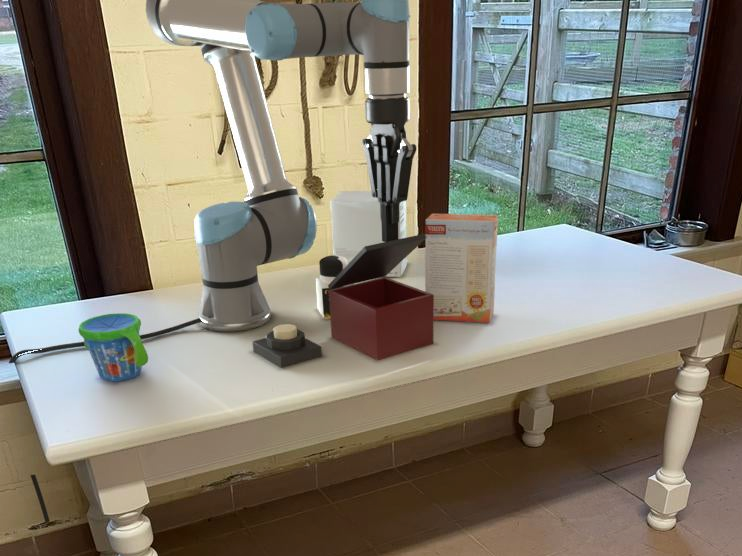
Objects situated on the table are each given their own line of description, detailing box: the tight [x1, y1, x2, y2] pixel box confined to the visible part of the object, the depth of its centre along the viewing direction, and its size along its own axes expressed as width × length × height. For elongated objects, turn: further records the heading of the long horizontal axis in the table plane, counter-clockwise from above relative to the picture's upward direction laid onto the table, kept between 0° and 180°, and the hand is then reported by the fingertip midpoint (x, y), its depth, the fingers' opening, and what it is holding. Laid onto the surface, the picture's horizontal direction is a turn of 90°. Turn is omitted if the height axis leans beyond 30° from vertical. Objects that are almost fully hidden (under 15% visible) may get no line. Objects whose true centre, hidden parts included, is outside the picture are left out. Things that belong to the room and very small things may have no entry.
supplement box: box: [329, 190, 408, 278], centre depth 196 cm, size 17×13×18 cm
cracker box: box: [424, 213, 499, 324], centre depth 163 cm, size 14×6×21 cm, turn 74°
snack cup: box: [78, 312, 149, 383], centre depth 144 cm, size 16×10×10 cm
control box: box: [251, 328, 323, 369], centre depth 152 cm, size 11×9×4 cm
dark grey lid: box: [328, 233, 426, 289], centre depth 151 cm, size 17×14×1 cm
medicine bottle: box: [315, 255, 353, 320], centre depth 170 cm, size 7×7×12 cm
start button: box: [272, 323, 298, 340], centre depth 151 cm, size 4×4×2 cm
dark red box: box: [329, 276, 435, 361], centre depth 156 cm, size 16×14×10 cm
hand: (390, 240), depth 145 cm, fingers closed
